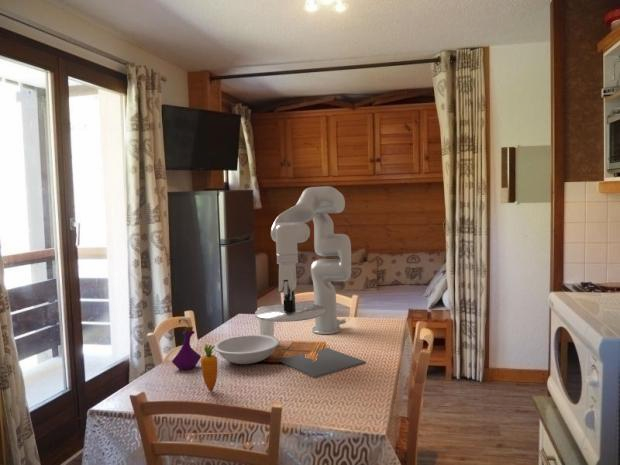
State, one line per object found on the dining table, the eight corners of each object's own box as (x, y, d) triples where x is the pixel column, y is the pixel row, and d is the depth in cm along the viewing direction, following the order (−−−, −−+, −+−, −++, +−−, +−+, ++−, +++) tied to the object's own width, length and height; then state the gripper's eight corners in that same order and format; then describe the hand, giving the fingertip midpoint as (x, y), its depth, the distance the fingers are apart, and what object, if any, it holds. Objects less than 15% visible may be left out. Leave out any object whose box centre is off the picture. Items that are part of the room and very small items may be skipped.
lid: (298, 302, 200) (297, 286, 200) (339, 312, 180) (338, 294, 180) (242, 313, 185) (241, 296, 185) (280, 325, 165) (279, 306, 165)
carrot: (203, 389, 161) (201, 342, 160) (219, 388, 161) (217, 341, 160) (201, 395, 156) (198, 346, 155) (218, 394, 156) (215, 345, 155)
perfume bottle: (201, 365, 184) (198, 316, 183) (190, 372, 177) (187, 321, 176) (184, 363, 187) (181, 315, 186) (172, 370, 180) (168, 320, 179)
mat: (327, 349, 197) (327, 347, 197) (365, 363, 179) (365, 361, 179) (279, 361, 184) (278, 360, 184) (314, 377, 166) (314, 376, 166)
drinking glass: (276, 342, 210) (275, 306, 209) (274, 347, 203) (272, 309, 202) (260, 342, 211) (258, 306, 210) (257, 347, 204) (255, 310, 203)
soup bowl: (252, 376, 171) (251, 357, 170) (200, 366, 183) (199, 348, 183) (293, 355, 191) (292, 338, 190) (243, 348, 204) (242, 331, 203)
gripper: (281, 256, 190) (283, 304, 191) (272, 262, 173) (274, 315, 175) (301, 255, 189) (303, 304, 190) (293, 261, 172) (296, 315, 174)
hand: (289, 309), depth 182 cm, fingers closed on lid, 4 cm apart
